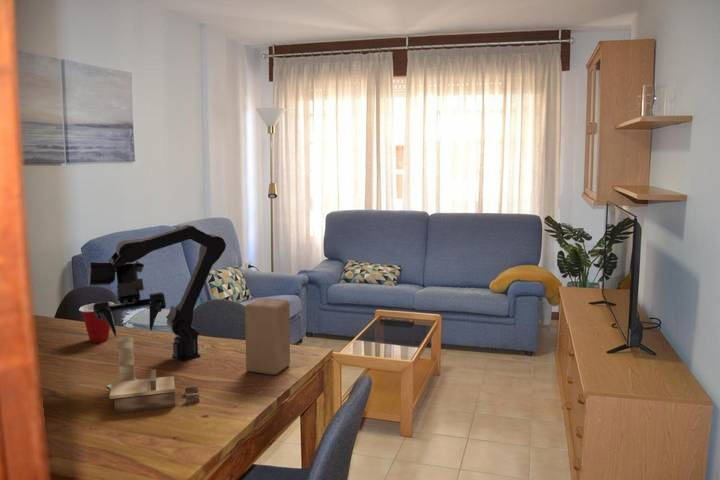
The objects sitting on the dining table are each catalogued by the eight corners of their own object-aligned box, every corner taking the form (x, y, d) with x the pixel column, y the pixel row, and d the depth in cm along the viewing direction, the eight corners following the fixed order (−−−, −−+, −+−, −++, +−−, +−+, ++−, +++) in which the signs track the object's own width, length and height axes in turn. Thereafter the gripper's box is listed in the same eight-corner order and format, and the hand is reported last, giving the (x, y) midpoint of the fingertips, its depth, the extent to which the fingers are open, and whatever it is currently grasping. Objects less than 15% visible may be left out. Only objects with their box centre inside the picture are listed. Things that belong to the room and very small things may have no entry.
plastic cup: (84, 336, 208) (82, 302, 207) (117, 334, 211) (116, 300, 209) (77, 346, 198) (75, 310, 196) (113, 343, 200) (111, 308, 199)
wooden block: (291, 365, 182) (290, 299, 179) (276, 376, 173) (275, 307, 170) (261, 361, 185) (260, 296, 182) (244, 372, 176) (243, 304, 173)
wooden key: (135, 382, 166) (132, 336, 164) (134, 387, 163) (132, 340, 161) (121, 384, 165) (118, 337, 163) (120, 388, 162) (118, 341, 160)
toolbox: (197, 390, 162) (197, 377, 161) (199, 403, 154) (199, 390, 153) (117, 399, 156) (116, 386, 155) (114, 413, 147) (114, 399, 147)
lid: (174, 379, 160) (173, 367, 159) (174, 391, 151) (174, 379, 151) (112, 385, 155) (111, 373, 155) (109, 398, 147) (109, 386, 146)
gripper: (87, 275, 166) (92, 327, 159) (159, 265, 171) (166, 315, 164) (94, 293, 175) (99, 343, 168) (162, 283, 181) (169, 331, 174)
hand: (133, 333), depth 168 cm, fingers open, 9 cm apart
